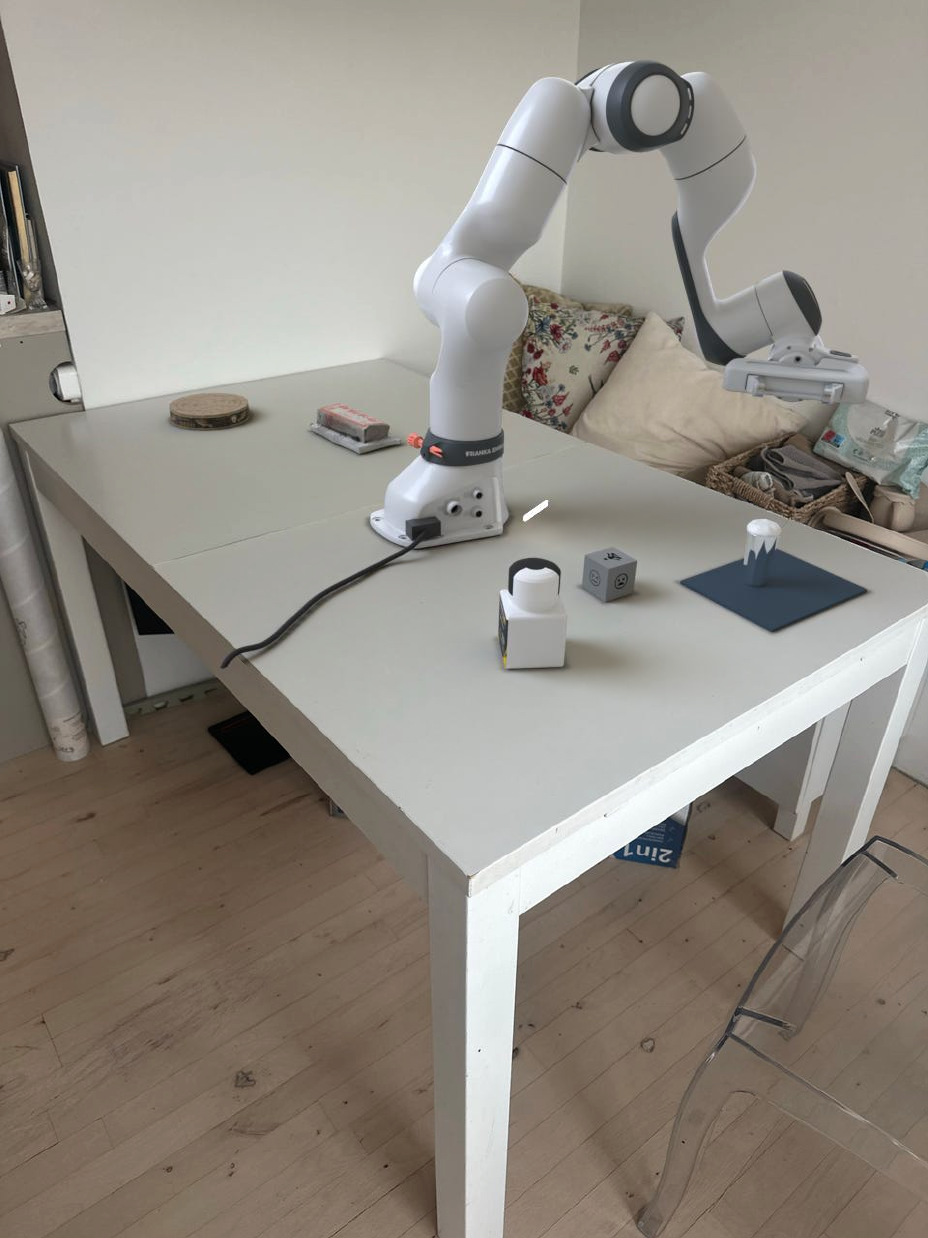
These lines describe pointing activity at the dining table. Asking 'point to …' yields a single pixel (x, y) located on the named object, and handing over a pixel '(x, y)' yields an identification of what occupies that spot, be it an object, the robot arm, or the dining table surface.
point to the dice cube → (609, 574)
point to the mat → (775, 591)
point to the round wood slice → (209, 411)
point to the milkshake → (760, 550)
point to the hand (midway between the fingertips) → (793, 394)
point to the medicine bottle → (532, 616)
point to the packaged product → (352, 429)
